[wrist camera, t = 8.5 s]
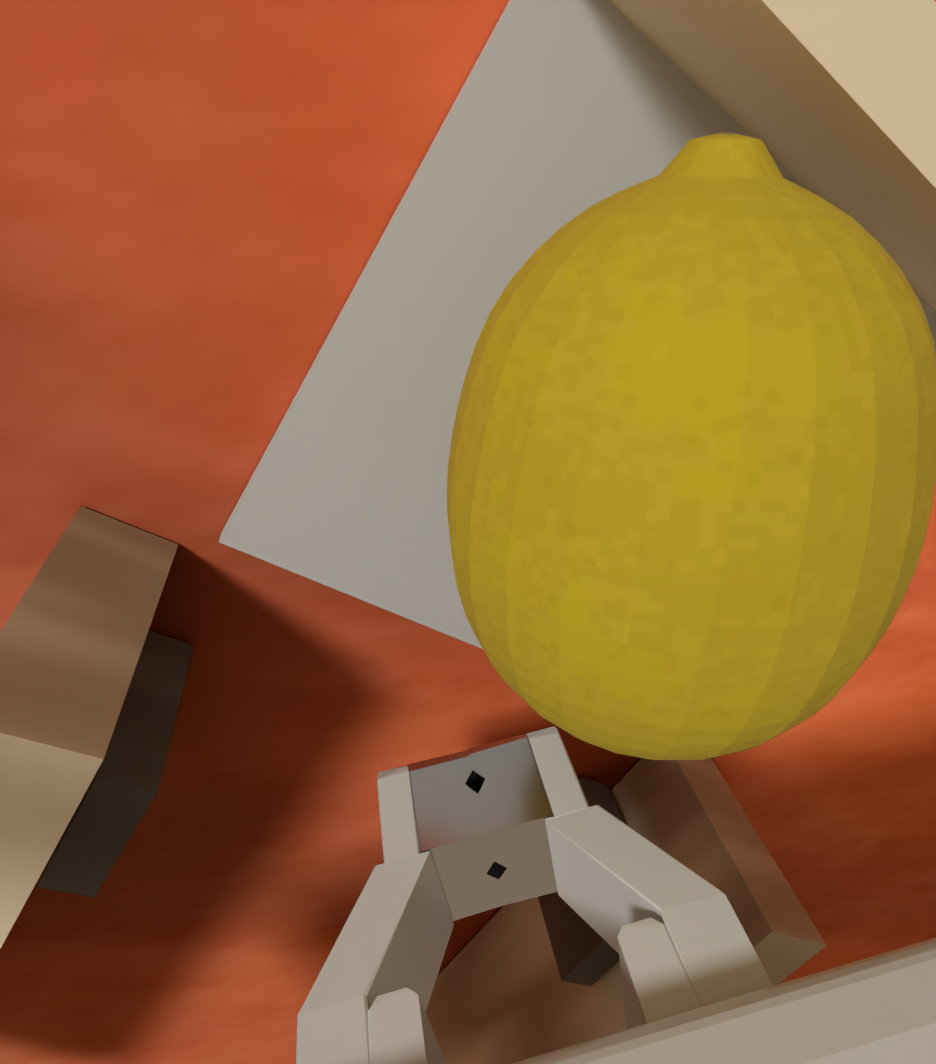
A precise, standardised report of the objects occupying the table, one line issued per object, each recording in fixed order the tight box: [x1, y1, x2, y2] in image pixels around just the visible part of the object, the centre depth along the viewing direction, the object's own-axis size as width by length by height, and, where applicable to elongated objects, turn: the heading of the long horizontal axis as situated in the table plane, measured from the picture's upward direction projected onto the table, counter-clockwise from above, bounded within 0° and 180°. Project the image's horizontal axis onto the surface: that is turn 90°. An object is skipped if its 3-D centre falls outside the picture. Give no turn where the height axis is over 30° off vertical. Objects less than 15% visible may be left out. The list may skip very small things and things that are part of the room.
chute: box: [0, 506, 827, 1064], centre depth 14 cm, size 14×14×4 cm
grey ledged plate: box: [219, 0, 936, 649], centre depth 10 cm, size 10×10×3 cm
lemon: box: [447, 131, 936, 760], centre depth 9 cm, size 6×6×8 cm
